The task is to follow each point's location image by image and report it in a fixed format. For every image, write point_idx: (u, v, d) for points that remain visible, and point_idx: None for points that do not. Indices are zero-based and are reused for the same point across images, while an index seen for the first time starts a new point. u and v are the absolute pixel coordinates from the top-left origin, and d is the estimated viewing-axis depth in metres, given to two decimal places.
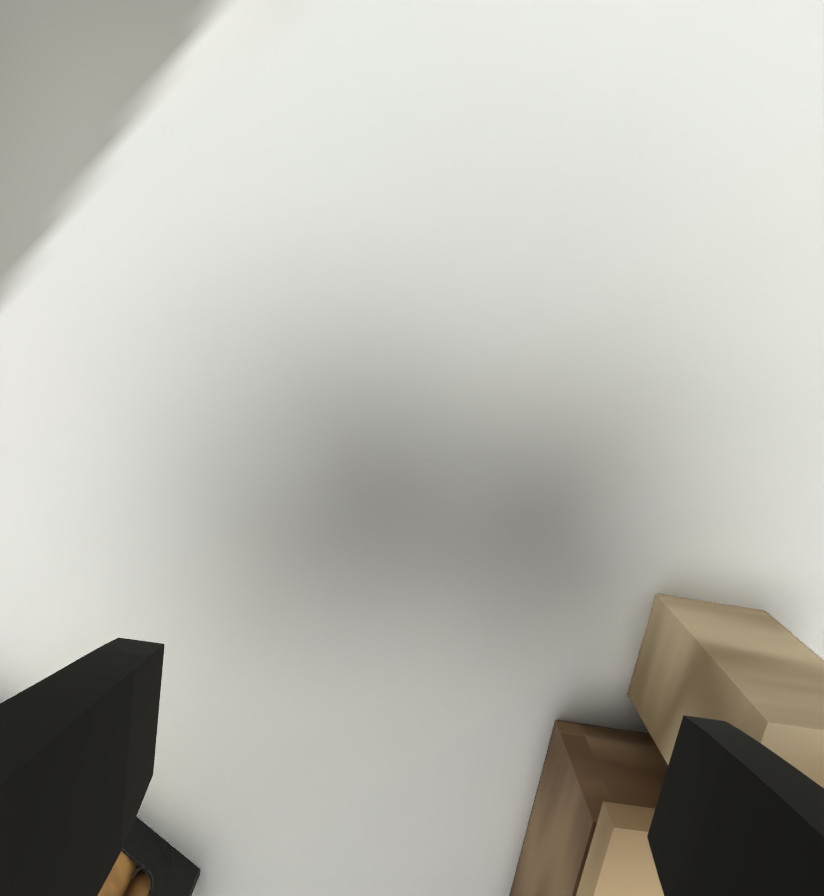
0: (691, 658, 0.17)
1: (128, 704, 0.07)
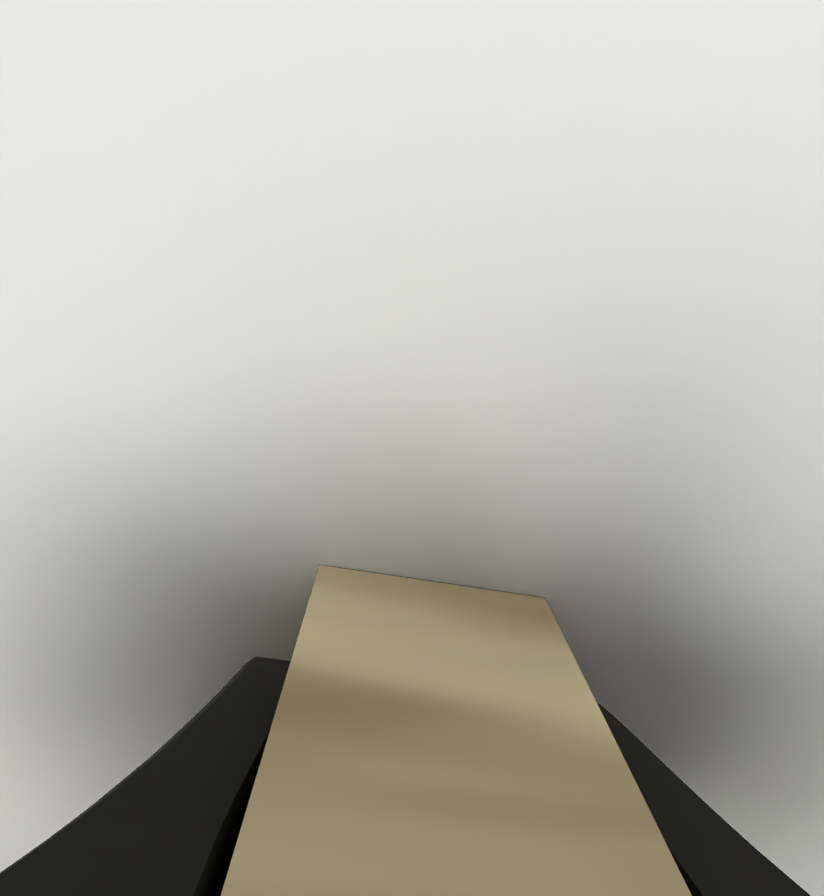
0: None
1: None
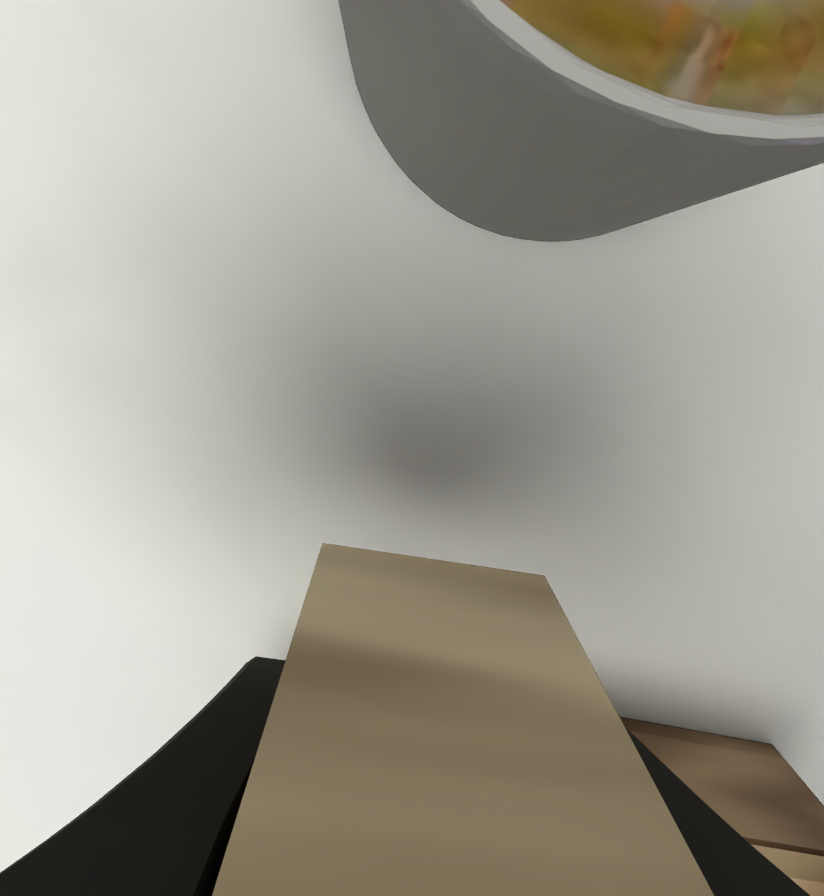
0: None
1: None
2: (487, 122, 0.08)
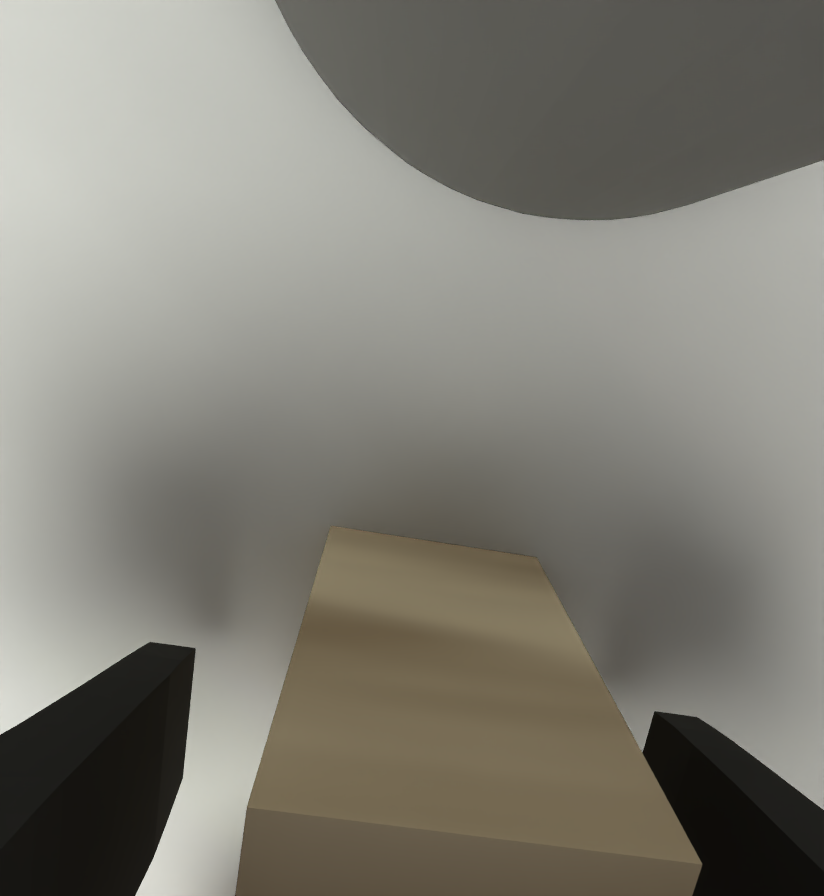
0: None
1: (164, 709, 0.07)
2: None
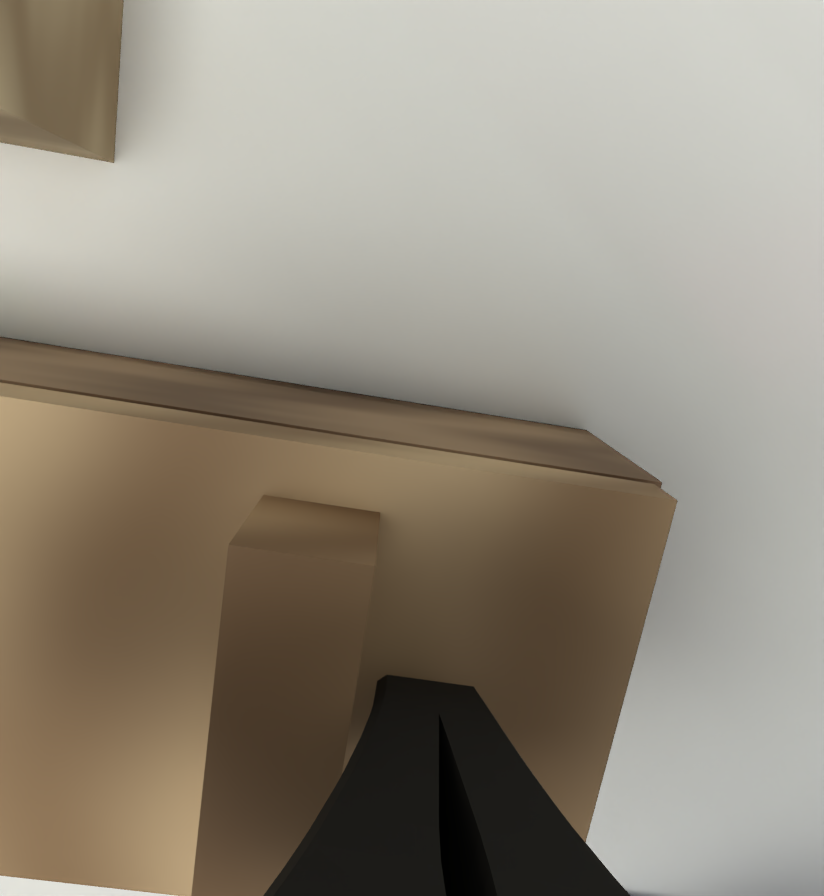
0: None
1: None
2: None
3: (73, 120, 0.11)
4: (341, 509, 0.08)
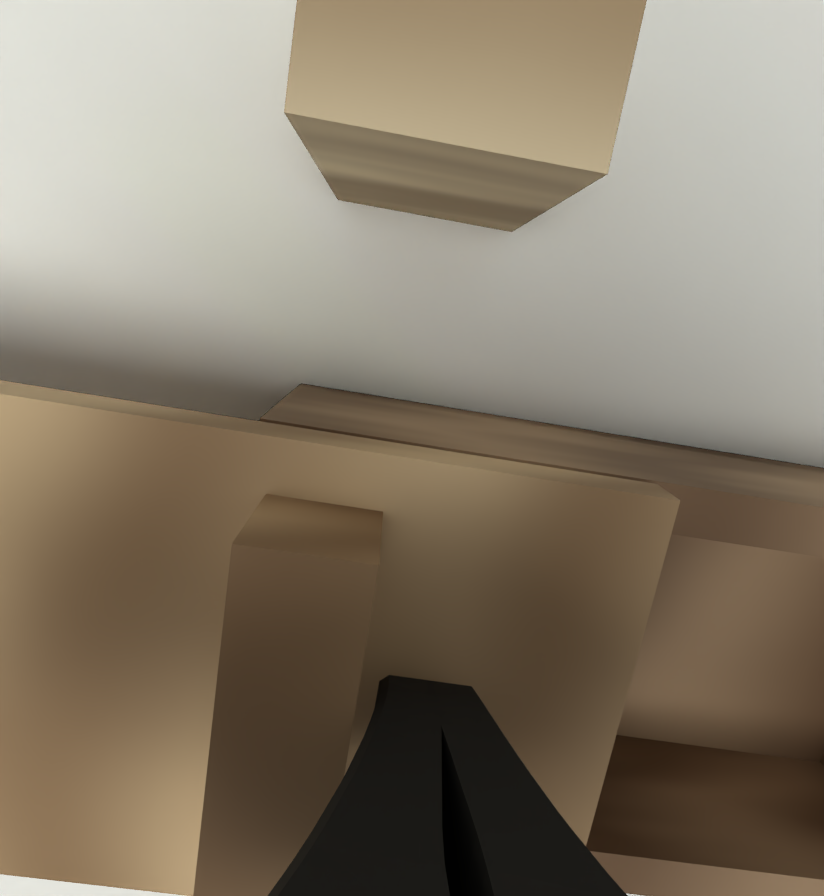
0: None
1: None
2: None
3: None
4: (344, 508, 0.08)
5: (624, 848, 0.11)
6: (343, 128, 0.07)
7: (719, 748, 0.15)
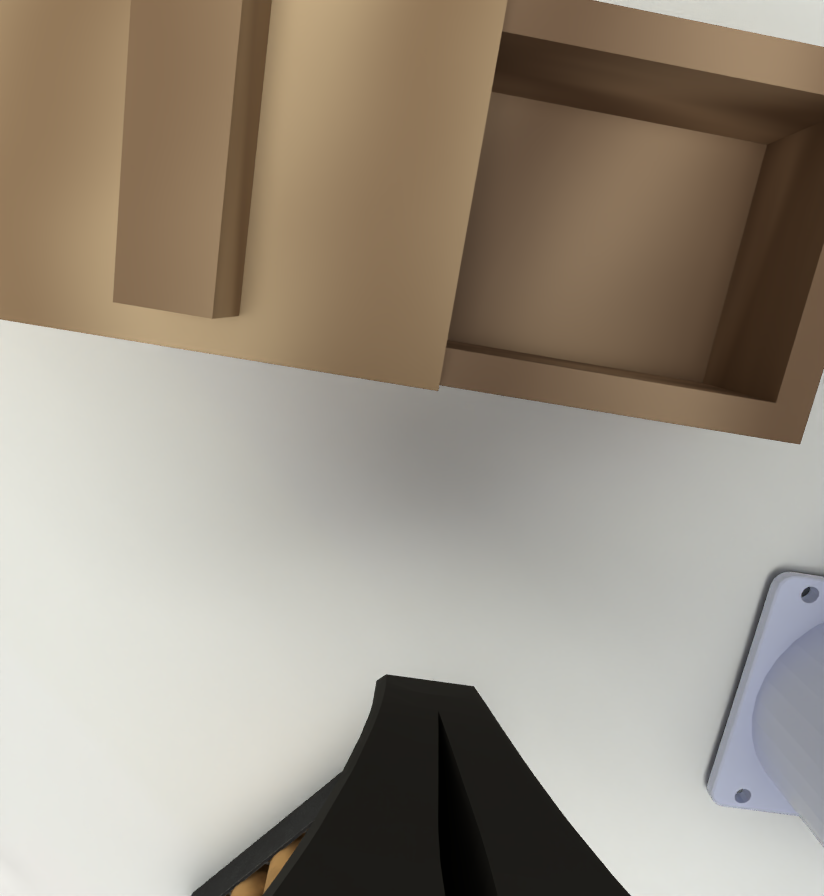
0: None
1: None
2: None
3: None
4: None
5: (507, 357, 0.14)
6: None
7: (613, 366, 0.17)
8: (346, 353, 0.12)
